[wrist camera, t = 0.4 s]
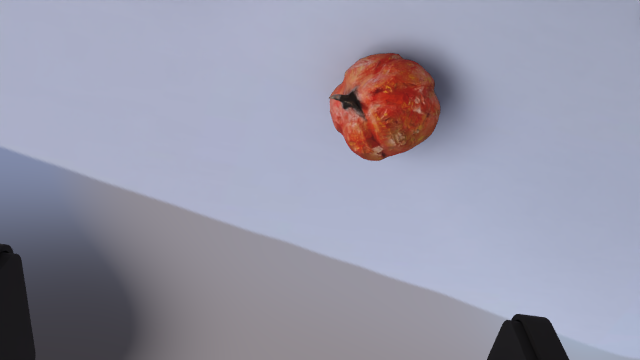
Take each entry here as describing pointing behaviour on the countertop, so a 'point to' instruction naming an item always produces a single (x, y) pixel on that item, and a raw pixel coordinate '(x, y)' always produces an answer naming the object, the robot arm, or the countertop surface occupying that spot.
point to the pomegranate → (384, 106)
